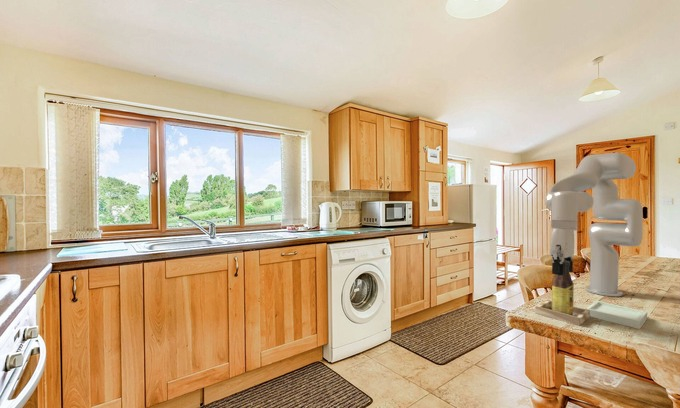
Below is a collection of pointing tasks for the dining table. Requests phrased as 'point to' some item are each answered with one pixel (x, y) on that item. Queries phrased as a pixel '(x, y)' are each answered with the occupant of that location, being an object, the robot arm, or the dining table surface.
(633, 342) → the dining table surface
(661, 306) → the dining table surface
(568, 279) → the sauce bottle
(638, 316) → the shallow square tray
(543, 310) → the tan flat square frame
